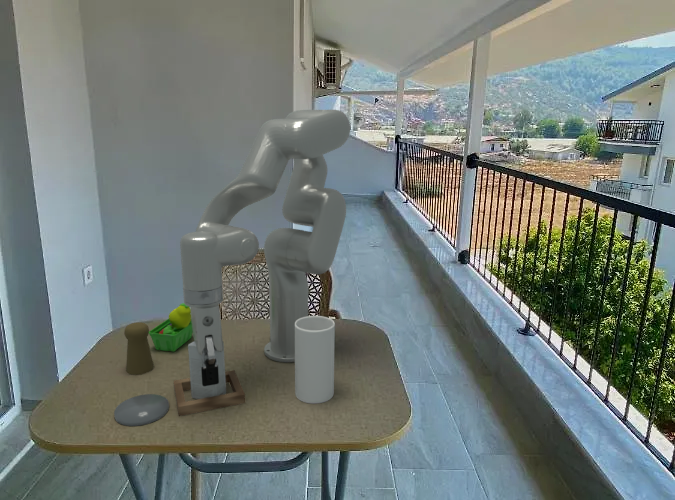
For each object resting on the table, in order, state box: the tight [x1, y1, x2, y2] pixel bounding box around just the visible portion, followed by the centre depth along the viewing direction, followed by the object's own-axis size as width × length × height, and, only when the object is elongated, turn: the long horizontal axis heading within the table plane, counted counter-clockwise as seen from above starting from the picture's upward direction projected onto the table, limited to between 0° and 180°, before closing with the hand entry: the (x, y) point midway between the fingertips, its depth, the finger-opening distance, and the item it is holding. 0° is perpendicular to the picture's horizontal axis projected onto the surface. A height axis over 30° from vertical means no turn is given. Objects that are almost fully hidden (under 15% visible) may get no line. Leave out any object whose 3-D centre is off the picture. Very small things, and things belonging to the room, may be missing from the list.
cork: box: [124, 321, 155, 376], centre depth 111 cm, size 6×6×11 cm
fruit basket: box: [148, 302, 193, 352], centre depth 124 cm, size 11×9×11 cm
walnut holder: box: [173, 369, 246, 417], centre depth 101 cm, size 13×11×2 cm
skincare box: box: [187, 341, 227, 400], centre depth 100 cm, size 6×4×12 cm
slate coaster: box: [113, 393, 170, 427], centre depth 95 cm, size 10×10×1 cm
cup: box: [294, 315, 336, 404], centre depth 101 cm, size 8×8×16 cm
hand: (207, 375), depth 100 cm, fingers closed on skincare box, 7 cm apart
